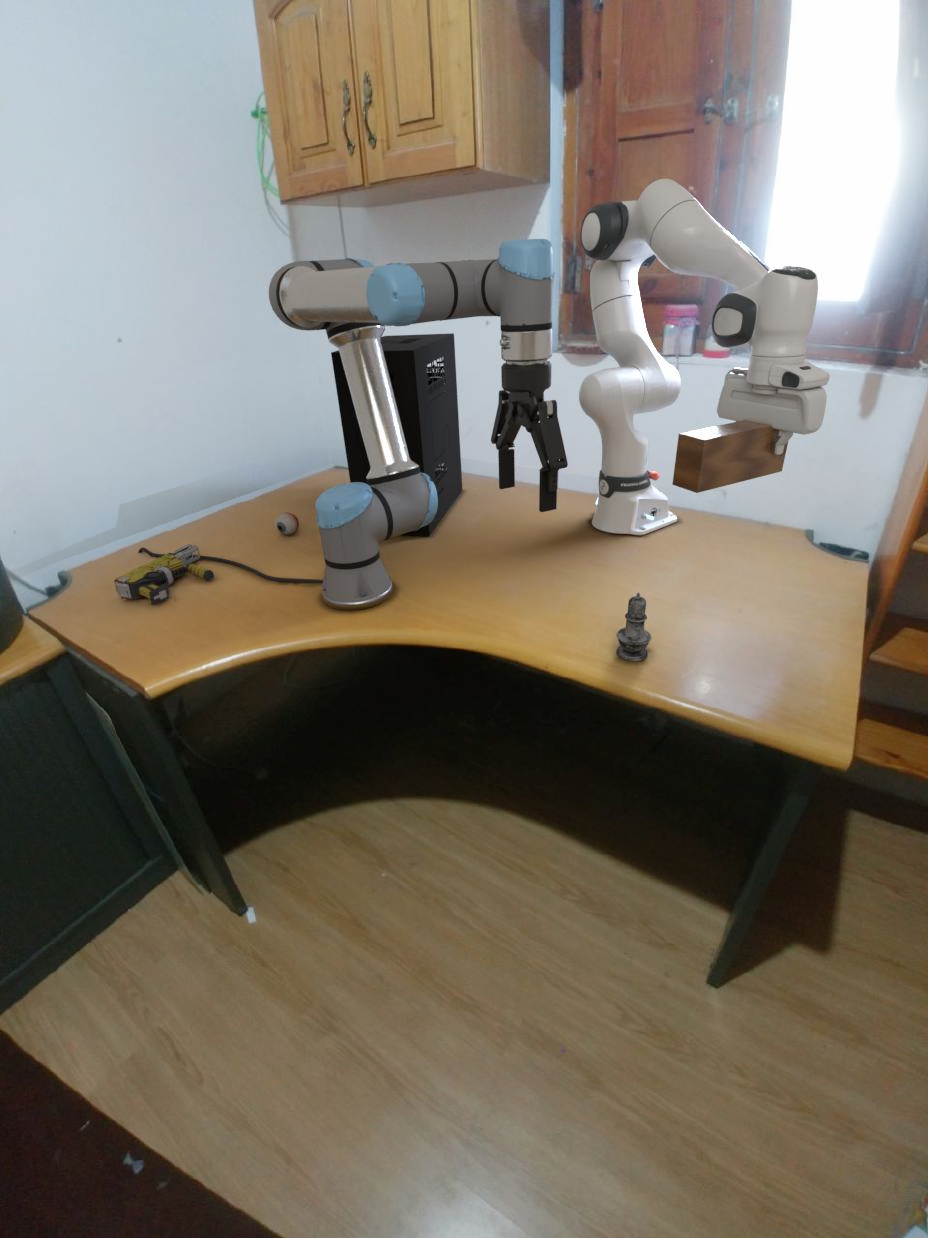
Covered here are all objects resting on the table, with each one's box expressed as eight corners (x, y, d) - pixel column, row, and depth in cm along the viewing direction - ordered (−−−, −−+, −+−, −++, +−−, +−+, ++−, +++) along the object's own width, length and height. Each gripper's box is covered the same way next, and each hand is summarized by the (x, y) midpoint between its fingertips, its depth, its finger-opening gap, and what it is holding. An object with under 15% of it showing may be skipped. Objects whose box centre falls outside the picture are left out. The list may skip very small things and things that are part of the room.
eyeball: (273, 537, 164) (268, 516, 161) (287, 528, 169) (282, 508, 166) (291, 539, 161) (286, 518, 158) (305, 530, 166) (301, 510, 163)
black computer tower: (429, 535, 159) (413, 350, 136) (357, 532, 163) (331, 352, 141) (462, 490, 190) (453, 333, 168) (401, 488, 195) (385, 335, 172)
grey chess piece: (650, 663, 103) (658, 601, 97) (615, 660, 105) (620, 600, 99) (648, 644, 108) (655, 585, 102) (614, 642, 110) (620, 583, 104)
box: (755, 464, 120) (764, 415, 115) (782, 471, 115) (792, 421, 111) (672, 484, 112) (678, 433, 107) (696, 493, 107) (704, 439, 102)
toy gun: (236, 552, 148) (186, 541, 152) (163, 592, 128) (107, 579, 132) (239, 569, 150) (189, 559, 154) (167, 611, 130) (112, 598, 134)
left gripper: (468, 356, 99) (473, 482, 109) (549, 373, 79) (546, 525, 89) (508, 351, 101) (510, 475, 112) (596, 366, 81) (588, 516, 92)
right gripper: (715, 367, 114) (704, 441, 121) (814, 380, 98) (795, 464, 105) (739, 364, 117) (727, 436, 123) (839, 375, 101) (819, 458, 108)
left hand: (526, 498), depth 101 cm, fingers open, 13 cm apart
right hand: (759, 449), depth 114 cm, fingers closed on box, 6 cm apart
